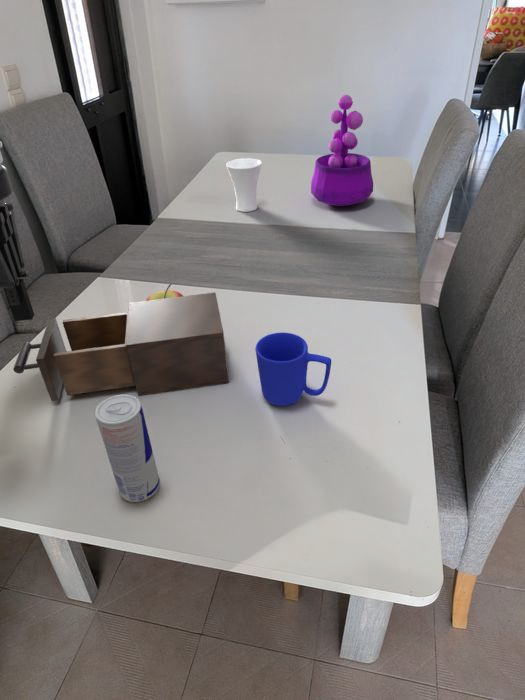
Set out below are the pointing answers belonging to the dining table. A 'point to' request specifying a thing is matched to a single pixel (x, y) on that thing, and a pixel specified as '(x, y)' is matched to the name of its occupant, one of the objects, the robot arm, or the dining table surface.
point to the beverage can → (128, 447)
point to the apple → (164, 295)
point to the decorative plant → (343, 163)
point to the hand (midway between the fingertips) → (24, 317)
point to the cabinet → (176, 343)
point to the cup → (245, 182)
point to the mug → (286, 368)
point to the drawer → (82, 355)
